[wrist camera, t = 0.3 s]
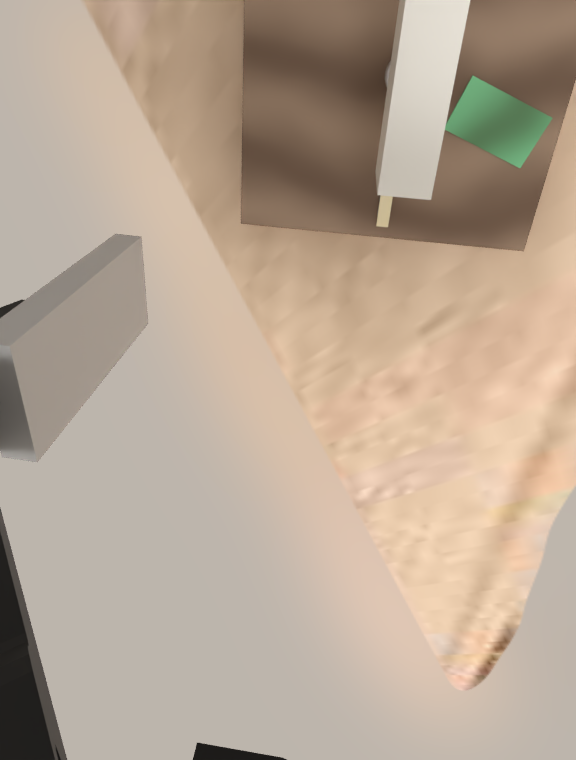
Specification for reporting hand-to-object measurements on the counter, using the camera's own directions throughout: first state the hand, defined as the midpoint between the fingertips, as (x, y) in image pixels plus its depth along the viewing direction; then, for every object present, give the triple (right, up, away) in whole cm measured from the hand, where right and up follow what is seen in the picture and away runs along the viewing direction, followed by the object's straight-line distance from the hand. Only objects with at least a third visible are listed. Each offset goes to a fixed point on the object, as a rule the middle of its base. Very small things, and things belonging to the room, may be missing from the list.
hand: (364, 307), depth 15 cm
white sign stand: (+5, +14, +18) cm, 24 cm away
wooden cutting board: (+5, +18, +19) cm, 26 cm away
